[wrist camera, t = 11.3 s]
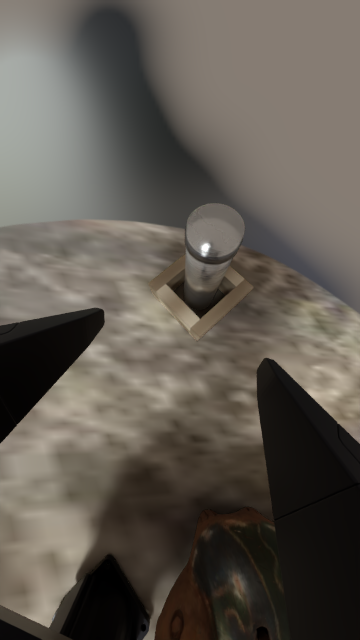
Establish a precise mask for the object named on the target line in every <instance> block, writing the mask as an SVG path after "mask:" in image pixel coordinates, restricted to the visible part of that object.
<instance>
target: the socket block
mask: <svg viewBox="0 0 360 640" xmlns="http://www.w3.org/2000/svg"><path fill="white" fill-rule="evenodd" d="M185 258H186V253H185V254H184V255H183V256H182V257H180V258H179V259H178V260H177V261H175V262H174V263H173V264H172V265H170V266H169V267H168V268H167V269H165V270H164V271H163V272H162V273H160V274H159V275H158V276H157V277H155V278H154V279H153V280H152V281H150V282H149V283H148V284H149V286H150V288H151V291H152V293H153V295H154V296H155V297H156V298H157V299H158V301H159V302H160V303H161V304H162V305H163V306H164V307H165V308H166V309H167V310H168V311H169V312H170V313H171V314H172V315H173V317H174V318H175V319H176V320H177V321H178V322H179V323H180V324H181V325H182V326H183V327H184V328H185V329H186V330H187V332H188V333H189V334H190V335H191V336H192V337H193V338H194V339H195V340H196V341H198V340H199V339H200V338H202V337H203V336H204V335H205V334H206V333H207V332H208V331H209V330H210V329H211V328H212V327H213V326H214V325H216V324H217V323H218V322H219V321H220V320H221V319H222V318H223V317H224V316H225V315H226V314H227V313H228V312H230V311H231V310H232V309H233V308H234V307H235V306H236V305H237V304H238V303H239V302H240V301H241V300H242V299H243V298H244V297H245V296H246V295H247V294H248V293H249V292H250V291H251V290H252V289H253V288H254V287H253V286H252V285H251V284H250V283H249V282H247V281H246V280H245V279H244V278H243V277H242V276H241V275H240V274H238V273H237V272H236V271H235V270H234V269H233V268H232V267H231V266H229V267H228V269H227V271H226V273H225V275H224V277H223V279H222V281H221V283H220V285H219V288H218V289H220V290H221V291H222V292H223V293H224V294H225V295H226V296H225V297H224V298H223V299H222V300H221V301H220V302H219V303H218V304H216V305H215V306H214V307H213V308H212V309H211V310H210V311H209V312H208V313H206V314H205V315H204V316H203V317H202V318H201V319H200V318H199V317H198V316H197V315H196V314H195V313H194V312H193V311H192V310H191V309H190V308H189V307H188V306H187V305H186V304H185V303H184V302H183V301H182V300H181V299H180V298H179V297H178V296H177V295H176V294H175V293H174V292H173V291H174V290H175V289H176V288H177V287H179V286H180V285H181V284H182V283H183V282H185Z"/></svg>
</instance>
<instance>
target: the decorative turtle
mask: <svg viewBox="0 0 360 640" xmlns="http://www.w3.org/2000/svg"><path fill="white" fill-rule="evenodd" d="M154 640H291V637H290V632H289V626H288V618H287V611H286V604H285V597H284V590H283V583H282V575H281V568H280V561H279V554H278V547H277V539H276V532H275V525H274V523H273V522H271V521H270V520H268V519H266V518H265V517H264V516H262V515H261V514H260V513H259V512H258V511H257V510H255V509H254V508H251V507H244V508H242V509H241V510H239V511H237V512H234V513H229V514H217V513H216V512H214V511H212V510H211V509H210V510H208V509H206V510H204V511H202V513H201V514H200V517H199V519H198V524H197V529H196V533H195V538H194V542H193V547H192V551H191V555H190V558H189V561H188V563H187V565H186V567H185V568H184V569H183V571H182V572H181V574H180V575H179V577H178V579H177V580H176V582H175V584H174V586H173V587H172V589H171V591H170V593H169V595H168V597H167V599H166V602H165V604H164V607H163V609H162V612H161V614H160V616H159V618H158V621H157V625H156V632H155V639H154Z"/></svg>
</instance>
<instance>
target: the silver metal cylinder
mask: <svg viewBox="0 0 360 640" xmlns="http://www.w3.org/2000/svg"><path fill="white" fill-rule="evenodd" d="M244 232H245V225H244V221H243V219H242V217H241V216H240V214H239V213H238V212H236V210H234V209H233V208H231V207H229V206H226V205H223V204H218V203H212V204H206V205H203V206H200V207H199V208H197V209H195V210H194V211H193V212H192V213H191V215H190V216H189V218H188V221H187V225H186V229H185V246H186V258H185V284H184V300H185V303H186V304H187V305H188V306H189V307H190V308H191V309H194V310H203V309H205V308H207V307H208V306H209V305H210V304H211V302H212V300H213V298H214V296H215V294H216V292H217V290H218V288H219V285H220V283H221V281H222V279H223V277H224V275H225V273H226V271H227V269H228V267H229V265H230V263H231V261H232V259H233V257H234V256H235V255H236V253H237V251H238V249H239V247H240V245H241V243H242V240H243V236H244Z"/></svg>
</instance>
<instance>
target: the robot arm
mask: <svg viewBox="0 0 360 640" xmlns="http://www.w3.org/2000/svg"><path fill="white" fill-rule="evenodd" d="M104 322H105V320H104V310H103V309H99V308H91V309H86V310H81V311H75V312H70V313H65V314H60V315H54V316H49V317H44V318H39V319H33V320H28V321H23V322H20V323H12V324H7V325H1V326H0V443H1V442H2V441H3V440H4V439H5V438H6V437H7V436H8V435H9V434H10V432H11V431H12V430H13V429H14V428H15V427H16V426H17V424H18V423H19V422H20V421H21V420H22V419H23V418H24V417H25V416H26V415H27V414H28V412H29V411H30V410H31V409H32V408H33V407H34V406H35V405H36V404H37V403H38V401H39V400H40V399H41V398H42V397H43V396H44V395H45V394H46V393H47V391H48V390H49V389H50V388H51V387H52V386H53V385H54V384H55V383H56V382H57V380H58V379H59V378H60V377H61V376H62V375H63V374H64V373H65V372H66V371H67V369H68V368H69V367H70V366H71V365H72V364H73V363H74V362H75V361H76V360H77V358H78V357H79V356H80V355H81V354H82V353H83V352H84V351H85V350H86V348H87V347H88V346H89V345H90V344H91V342H92V341H93V340H94V338H95V337H96V335H97V334H98V333H99V331H100V330H101V328H102V327H103V326H104ZM257 401H258V409H259V416H260V423H261V430H262V438H263V445H264V452H265V459H266V466H267V474H268V481H269V488H270V495H271V502H272V510H273V517H274V520H275V521H274V525H275V532H276V539H277V547H278V554H279V561H280V568H281V575H282V583H283V590H284V597H285V604H286V611H287V618H288V626H289V632H290V637H291V640H360V444H359V443H358V442H357V441H356V440H355V439H354V438H353V437H352V436H351V435H350V434H349V433H348V432H347V431H346V430H345V429H344V428H343V427H342V426H341V425H340V424H337V421H336V420H334V419H333V418H332V417H331V416H330V415H329V414H328V413H327V412H326V411H325V410H324V409H323V408H322V407H321V406H320V405H319V404H318V403H317V402H316V401H315V400H314V399H313V398H312V397H311V396H310V395H309V394H308V393H307V392H306V391H305V390H304V389H303V388H302V387H301V386H300V385H299V384H298V383H297V382H296V381H295V380H294V379H293V378H292V377H291V376H290V375H289V374H288V373H287V372H286V371H285V370H283V369H282V368H281V367H280V366H279V365H278V364H277V363H276V362H275V361H274V360H272V359H269V358H264V359H263V361H262V362H261V364H260V366H259V367H258V369H257ZM107 563H109V564H110V565H108V564H107ZM143 624H145V625H143ZM149 624H150V618H149V616H148V614H147V612H146V611H145V609H144V607H143V606H142V604H141V602H140V601H139V599H138V597H137V596H136V594H135V592H134V591H133V589H132V587H131V586H130V584H129V582H128V581H127V579H126V577H125V576H124V574H123V572H122V571H121V569H120V567H119V566H118V564H117V562H116V561H115V559H114V558H113V556H112V555H107V556H106V557H105V558H104V559H103V560H102V561H101V562H100V563H99V564H98V565H97V566H96V568H95V569H94V570H93V571H92V572H91V573H86V574H85V575H84V576H83V578H82V579H81V580H80V581H79V582H78V583H77V584H76V585H75V586H74V587H73V588H72V589H71V591H70V592H69V593H68V594H67V595H66V596H65V598H64V599H63V601H62V603H61V605H60V607H59V608H58V609H57V611H56V612H55V614H54V616H53V619H52V623H51V625H50V627H49V628H47V627H45V626H43V625H41V624H39V623H37V622H35V621H33V620H31V619H28V618H26V617H24V616H22V615H20V614H18V613H16V612H14V611H12V610H10V609H7V608H5V607H3V606H1V605H0V640H142V639H143V638H144V637H145V636H146V634H147V633H148V631H149Z"/></svg>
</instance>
